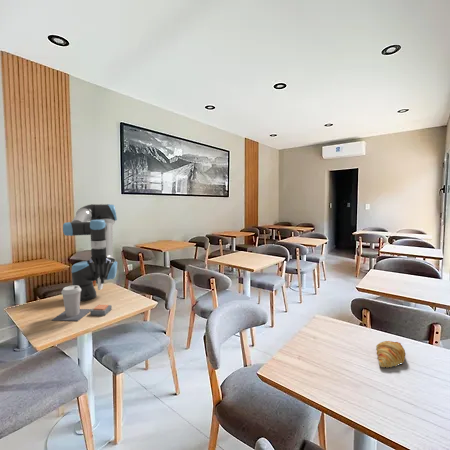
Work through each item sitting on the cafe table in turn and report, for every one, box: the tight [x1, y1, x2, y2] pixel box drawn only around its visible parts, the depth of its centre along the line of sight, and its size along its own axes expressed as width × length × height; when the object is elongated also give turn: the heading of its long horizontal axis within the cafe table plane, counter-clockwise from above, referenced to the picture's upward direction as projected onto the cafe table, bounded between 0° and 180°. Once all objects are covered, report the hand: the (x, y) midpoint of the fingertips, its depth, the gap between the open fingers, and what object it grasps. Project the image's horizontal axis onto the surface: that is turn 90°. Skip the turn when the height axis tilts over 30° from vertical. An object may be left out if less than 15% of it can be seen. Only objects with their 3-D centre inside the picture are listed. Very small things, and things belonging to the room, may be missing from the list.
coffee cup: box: [60, 285, 81, 317], centre depth 145 cm, size 10×10×15 cm
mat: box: [51, 308, 93, 322], centre depth 145 cm, size 14×14×1 cm
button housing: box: [89, 304, 113, 317], centre depth 149 cm, size 8×8×3 cm
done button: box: [94, 304, 109, 310], centre depth 149 cm, size 6×6×2 cm
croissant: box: [375, 340, 406, 368], centre depth 107 cm, size 21×10×8 cm, turn 133°
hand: (100, 289), depth 148 cm, fingers closed
